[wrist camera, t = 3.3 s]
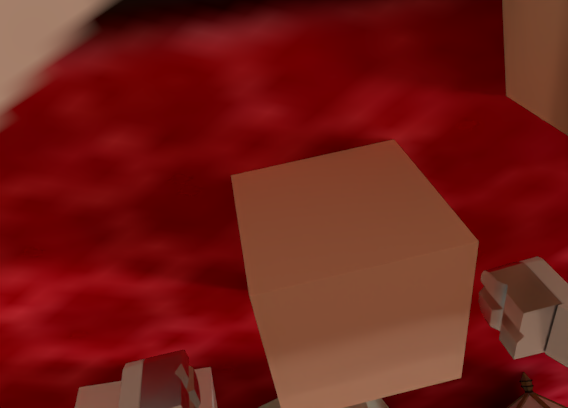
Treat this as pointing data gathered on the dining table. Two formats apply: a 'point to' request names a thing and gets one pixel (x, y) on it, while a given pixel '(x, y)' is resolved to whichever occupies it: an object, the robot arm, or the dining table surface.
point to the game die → (532, 397)
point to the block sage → (370, 407)
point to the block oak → (537, 57)
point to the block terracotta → (354, 276)
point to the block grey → (105, 397)
